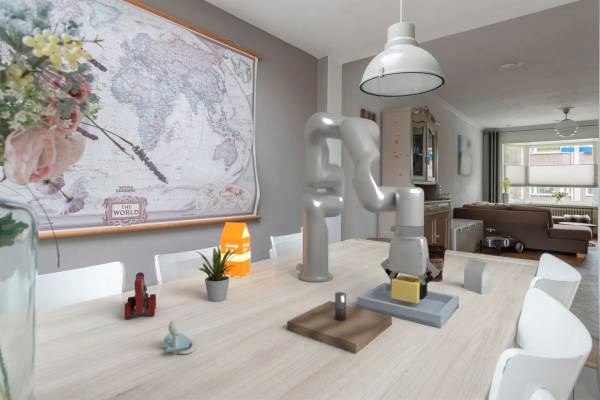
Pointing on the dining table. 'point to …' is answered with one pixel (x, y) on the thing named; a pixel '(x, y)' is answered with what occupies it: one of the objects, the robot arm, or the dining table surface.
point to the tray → (410, 306)
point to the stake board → (340, 326)
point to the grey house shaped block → (477, 276)
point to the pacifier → (177, 341)
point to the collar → (406, 288)
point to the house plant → (217, 275)
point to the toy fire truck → (140, 299)
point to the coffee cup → (436, 258)
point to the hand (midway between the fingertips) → (408, 295)
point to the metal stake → (340, 306)
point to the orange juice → (236, 248)
